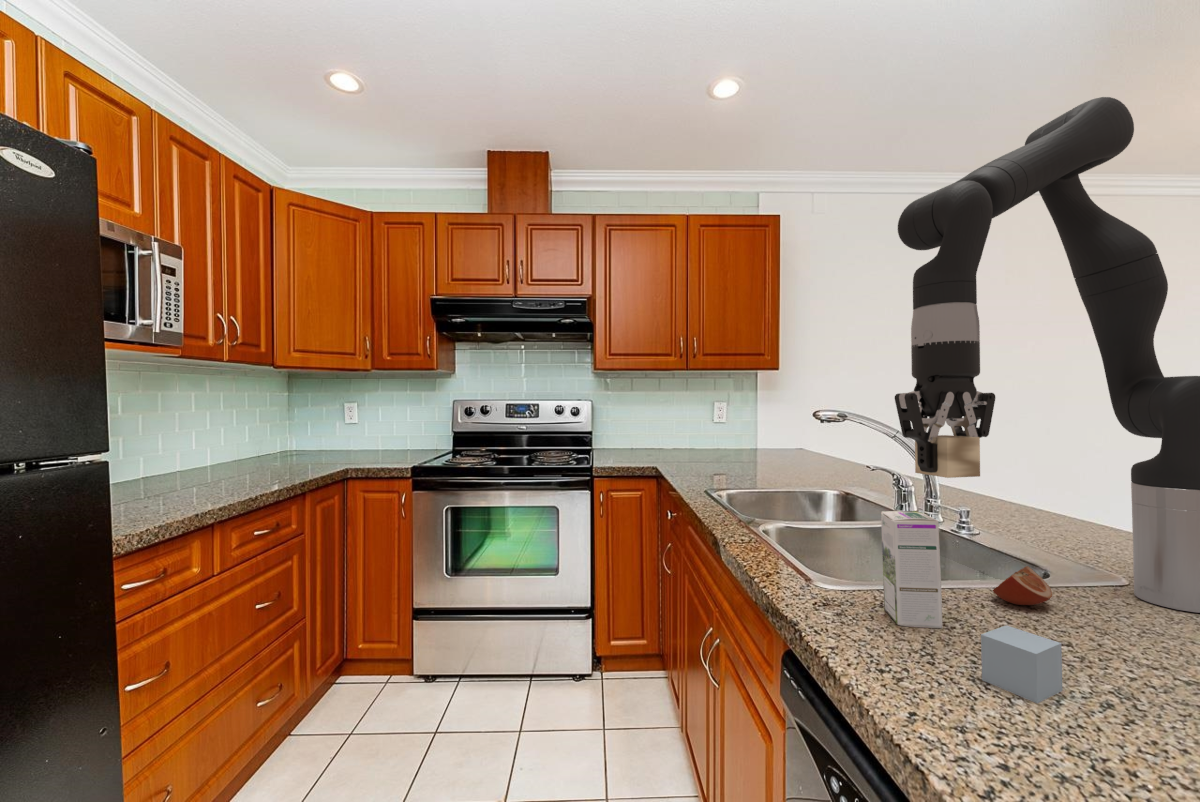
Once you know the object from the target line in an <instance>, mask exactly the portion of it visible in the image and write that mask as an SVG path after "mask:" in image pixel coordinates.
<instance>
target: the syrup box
mask: <svg viewBox="0 0 1200 802" xmlns="http://www.w3.org/2000/svg"><path fill="white" fill-rule="evenodd" d="M880 516H881V517H880V518H881V521H880V523H881V548H882V551H881V552H882V582H883V584H882V586H883V610H884V611H885V612H886V613H887V614H888V615H889V617H890V618H891V619H892V620H893V622H895V624H896V625H898V626H901V627H912V628H924V629H925V628H926V629H927V628H928V629H943V602H942V601H943V600H942V595H943V594H942V575H941V574H942V573H941V552H940V551H941V550H940V548H941V547H940V533H939V532H940V528H939V520H937V519H936V518H933V517H931V516H929V515H928V514H926V513H924V512H922V511H921V512H920V511H912V510H911V511H910V510H890V511H889V510H888V511H881V513H880Z"/></svg>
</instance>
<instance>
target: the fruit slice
mask: <svg viewBox="0 0 1200 802" xmlns="http://www.w3.org/2000/svg"><path fill="white" fill-rule="evenodd" d="M992 592H993V593H994V594H995V595H996V596H997V597H999V598H1000V599H1001V600H1003V601H1004V602H1007V603H1010V604H1013V605H1018V606H1033V605H1038V604H1039V605H1040V604H1042V603H1045V602H1047V601H1049V600H1050V599H1052V597H1053V591H1052V588H1051V587H1050V585H1049V584H1048V583H1047V582H1046V581H1045V580H1044V579H1043V578H1042V576H1040V575H1039V574H1038V573H1036V572H1035V570H1033V568H1031V567H1030V566H1029V565H1027V566H1026V565H1025V566H1024V567H1022V568H1021V569H1020V570H1018V571H1015V572H1014V573H1013V574H1011V575H1009V577H1007V578H1006V579H1004V580H1003V581H1002V582H1001V583H1000V584H998V586H996V587H995V588H993V590H992Z"/></svg>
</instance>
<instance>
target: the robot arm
mask: <svg viewBox="0 0 1200 802" xmlns="http://www.w3.org/2000/svg"><path fill="white" fill-rule="evenodd" d="M1134 133H1135V123H1134V119H1133V116H1132V114H1131V112H1130V110H1129V109H1128V107H1127V106H1126V104H1124V103H1123V102H1122V101H1121V100H1119V99H1117V98H1114V97H1112V96H1111V97H1110V96H1102V97H1096V98H1095V97H1094V98H1093V99H1090V100H1087V101H1084V102H1083V103H1081V104H1079V105H1076V106H1075V107H1073V108H1072V109H1070V110H1068V111H1066V112H1065V113H1063V114H1061V115H1059V116H1057V117H1055V118H1054V119H1052V120H1050V121H1048V122H1047V123H1045V124H1043V125H1042V126H1040V127H1039V128H1038V127H1037V129H1035V130H1034V131H1032V132H1031V133H1030V134H1029V135H1028V136H1027V138H1026V140H1025V142H1024V145H1023V146H1020V147H1019V148H1017V149H1014V150H1012V151H1010V152H1008V153H1006V154H1004V155H1001V156H999V157H997V158H995V159H993V160H991V161H989V162H987V163H986V164H983V165H982V166H980V167H978V168H977V169H975V170H973V171H971V172H970V173H968V174H967V175H965V176H964V177H963V176H962V178H960V179H958V180H956V181H955V182H953V183H951V184H949V185H946V186H944V187H941V188H940V189H937V190H934V191H932V192H931V193H929V194H926V195H923V196H921V197H920V198H916V199H915V200H914V201H911V202H910V203H909V204H908V205H907V206H905V208H904V209H903V210H902V212H901V215H899V219H898V222H897V234H898V237H899V239H900V241H901V242H902V244H904V246H906V247H907V248H910V249H912V250H916V251H930V250H933V249H937V248H938V252H937V254H936V255H935V256H934V257H933V258H932V259H931V260H929V261H928V262H926V263H924V264H922V265H921V266H919V267H918V268H917V269H916V270H915V272H914V273H913V278H912V318H911V325H910V326H911V327H910V339H911V340H910V341H911V345H910V346H911V348H910V349H911V351H910V353H911V376H912V377H913V378H914V379H915V380H916V382H915V386H914V388H913V390H912V391H909V392H902V393H901V392H900V393H896V394H895V395H894V403H895V407H896V412H897V416H898V420H899V425H900V428H901V434H902V437H903V438H905V439H907V438H908V439H911V440H914V442H915V441H916V442H917V455H918V456H917V458H918V459H917V461H918V466H919V467H920V470H921V471H923V472H930V473H934V472H937V470H938V452H937V444H934V443H935V442H936V440H937V437H938V435H940V434H939V433H940V430H941V428H942V427H944V426H945V424H947V426H949V427H950V429H951V431H952V436H967V437H980V439H981V438H983V437H984V438H987V437H988V436H989V435H990V430H991V424H992V419H993V414H994V408H995V404H996V394H995V393H994V392H982V391H977V387H976V385H975V382H974V380H975V379H974V378H976V377H978V376H979V375H980V374H981V340H980V339H981V338H980V337H981V335H980V333H981V331H980V328H981V327H980V317H979V314H978V313H979V312H978V305H977V304H978V303H977V302H978V298H977V296H978V294H977V293H978V292H977V290H978V289H977V272H978V269H979V265H980V262H981V260H982V255H983V252H984V248H985V244H986V243H987V238H988V235H989V232H990V229H991V225H992V222H993V220H992V219H994V218H996V217H999V216H1000V215H1002V214H1004V213H1006V212H1008V211H1009V210H1010V209H1013V208H1014V207H1016V205H1019V204H1020V203H1022V202H1024V201H1025V200H1026V199H1029V198H1030V197H1032V196H1033V195H1035V194H1036V193H1038V192H1039V195H1040V197H1041V199H1042V202H1043V203H1044V205H1045V206H1046V209H1047V211H1048V213H1049V214H1050V217H1051V219H1052V221H1053V224H1054V225H1055V227H1056V230H1057V233H1058V235H1059V238H1060V240H1061V242H1062V243H1061V244H1062V246H1063V249H1064V251H1065V254H1066V258H1067V260H1068V262H1069V266H1070V269H1071V273H1072V275H1073V279H1074V282H1075V284H1076V287H1077V290H1078V293H1079V296H1080V298H1081V302H1082V303H1083V306H1084V308H1085V310H1086V313H1087V316H1088V318H1089V322H1090V324H1091V327H1092V331H1093V334H1094V336H1095V340H1096V344H1097V346H1098V350H1099V353H1100V355H1101V361H1102V364H1103V365H1102V366H1103V370H1104V375H1105V378H1106V384H1107V389H1108V393H1109V397H1110V402H1111V406H1112V410H1113V413H1114V415H1115V418H1116V419H1117V421H1118V422H1119V424H1120V425H1121V427H1122V428H1124V429H1125V431H1127V432H1129V433H1130V434H1132V435H1134V436H1137V437H1138V436H1139V437H1142V438H1143V437H1144V438H1153V439H1154V438H1155V439H1161V444H1160V449H1159V452H1158V453H1157V454H1156V455H1155V456H1153V457H1152V458H1150V459H1147V460H1146V459H1145V460H1144V461H1143V460H1142V461H1140V462H1136V463H1134V464H1133V465H1132V467H1131V468H1130V481H1131V482H1130V488H1131V516H1132V517H1131V518H1132V519H1131V520H1132V521H1131V524H1132V562H1133V566H1132V567H1133V569H1132V570H1133V571H1132V572H1133V594H1134V596H1135V597H1136V598H1138V599H1140V600H1142V601H1145V602H1147V603H1151V604H1152V605H1153V604H1154V605H1156V606H1157V605H1158V606H1161V607H1165V608H1169V609H1173V610H1178V611H1184V612H1191V613H1198V614H1200V375H1182V376H1164V373H1163V372H1162V369H1161V367H1160V364H1159V362H1158V361H1159V360H1158V358H1157V353H1156V351H1155V344H1154V343H1155V341H1154V338H1155V333H1156V330H1157V325H1158V323H1159V321H1160V319H1161V315H1162V313H1163V310H1164V307H1165V304H1166V301H1167V297H1168V290H1169V284H1168V278H1167V275H1166V272H1165V269H1164V266H1163V263H1162V261H1161V258H1160V255H1159V253H1158V250H1157V248H1156V245H1155V243H1154V242H1153V241H1152V239H1150V237H1148V236H1147V235H1146V234H1144V233H1143V232H1142V231H1140V230H1138V229H1137V228H1136V227H1134V226H1132V225H1131V224H1129V223H1127V222H1125V221H1123V220H1121V219H1120V218H1118V217H1115V216H1114V215H1112V214H1110V213H1108V212H1107V211H1106V210H1103V209H1102V208H1101V207H1100V206H1098V205H1097V204H1096V202H1095V201H1094V200H1092V199H1091V197H1090V196H1089V194H1088V192H1087V190H1086V189H1085V187H1084V186H1083V183H1082V181H1081V179H1080V175H1081V174H1083V173H1084V172H1087V171H1090V170H1091V169H1093V168H1095V167H1097V166H1098V167H1099V166H1100V165H1103V164H1104V163H1106V162H1108V161H1111V160H1112V159H1114V158H1115V157H1117V156H1118V155H1120V154H1122V153H1123V152H1124V150H1125V149H1126V148H1128V146H1129V145H1130V143H1131V142H1132V139H1133V137H1134ZM979 420H980V422H979V427H977V426H978V425H977V424H978V421H979ZM963 429H964V430H963Z"/></svg>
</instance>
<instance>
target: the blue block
mask: <svg viewBox="0 0 1200 802" xmlns="http://www.w3.org/2000/svg"><path fill="white" fill-rule="evenodd" d="M1062 649H1063V648H1062V642H1060V641H1055V640H1053V639H1049V638H1046V637H1044V636H1040V635H1037V634H1035V633H1032V632H1028V631H1025V630H1022V629H1020V628H1016V627H1013V626H1009V625H1003V626H1001V627H997V628H995V629H992V630H990V631H987V632H984V633H981V634H980V653H981V655H980V656H981V681H983V682H985V683H987V684H990V685H992V686H995V687H996V688H1000V689H1001V690H1003V691H1007V692H1009V693H1012V694H1013V695H1015V696H1019V697H1021V698H1023V699H1025V700H1028V701H1030V702H1033V703H1035V704H1040V703H1042V702H1043V701H1045V700H1047V699H1049V698H1051V697H1053V696H1055V695H1057V694H1059V693H1060V692H1063V656H1062V653H1063V652H1062Z"/></svg>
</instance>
